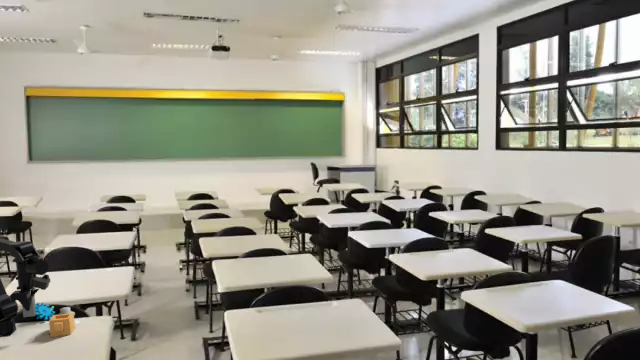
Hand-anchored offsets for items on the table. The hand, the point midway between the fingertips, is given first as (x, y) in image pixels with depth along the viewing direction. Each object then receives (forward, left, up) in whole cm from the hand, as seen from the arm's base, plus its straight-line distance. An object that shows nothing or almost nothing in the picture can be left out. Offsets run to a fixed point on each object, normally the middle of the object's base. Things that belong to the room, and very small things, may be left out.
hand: (29, 309), depth 203 cm
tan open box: (+11, +5, -13) cm, 17 cm away
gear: (-2, +22, -13) cm, 26 cm away
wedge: (0, 0, -3) cm, 3 cm away
